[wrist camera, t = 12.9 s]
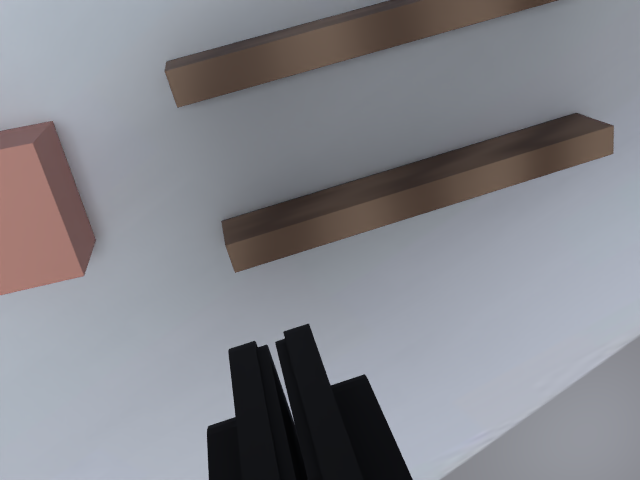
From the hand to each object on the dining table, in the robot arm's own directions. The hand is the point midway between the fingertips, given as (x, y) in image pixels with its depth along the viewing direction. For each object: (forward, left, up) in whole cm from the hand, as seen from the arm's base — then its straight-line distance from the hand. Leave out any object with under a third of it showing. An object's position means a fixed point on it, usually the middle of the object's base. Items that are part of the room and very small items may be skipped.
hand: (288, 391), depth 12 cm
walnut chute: (-9, 0, -18) cm, 20 cm away
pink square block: (+10, -1, -18) cm, 21 cm away
